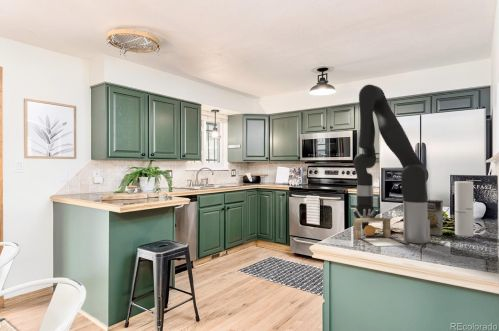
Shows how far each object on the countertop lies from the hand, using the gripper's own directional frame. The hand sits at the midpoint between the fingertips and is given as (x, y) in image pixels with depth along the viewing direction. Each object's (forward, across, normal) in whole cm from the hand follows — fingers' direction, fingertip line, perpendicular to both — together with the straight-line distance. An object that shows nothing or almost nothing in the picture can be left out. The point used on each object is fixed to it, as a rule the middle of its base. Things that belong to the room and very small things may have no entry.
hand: (365, 230), depth 147 cm
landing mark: (+1, +1, +17) cm, 17 cm away
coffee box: (+2, -31, +4) cm, 32 cm away
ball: (-1, +1, +6) cm, 6 cm away
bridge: (+2, +1, +8) cm, 9 cm away
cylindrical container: (+2, -44, +9) cm, 45 cm away
